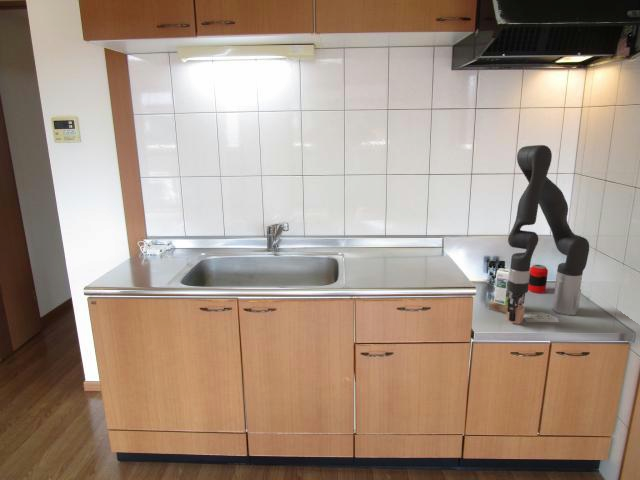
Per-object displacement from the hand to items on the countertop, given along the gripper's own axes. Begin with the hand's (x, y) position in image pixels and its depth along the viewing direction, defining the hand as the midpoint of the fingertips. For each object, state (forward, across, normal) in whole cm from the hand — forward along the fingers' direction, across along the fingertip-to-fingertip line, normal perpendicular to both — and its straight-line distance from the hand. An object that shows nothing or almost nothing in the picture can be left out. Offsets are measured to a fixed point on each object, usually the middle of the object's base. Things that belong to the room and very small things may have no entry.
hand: (514, 317), depth 182 cm
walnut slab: (+1, -8, -8) cm, 11 cm away
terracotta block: (+1, 0, 0) cm, 1 cm away
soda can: (+1, -39, -2) cm, 39 cm away
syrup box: (-2, -8, -8) cm, 11 cm away
